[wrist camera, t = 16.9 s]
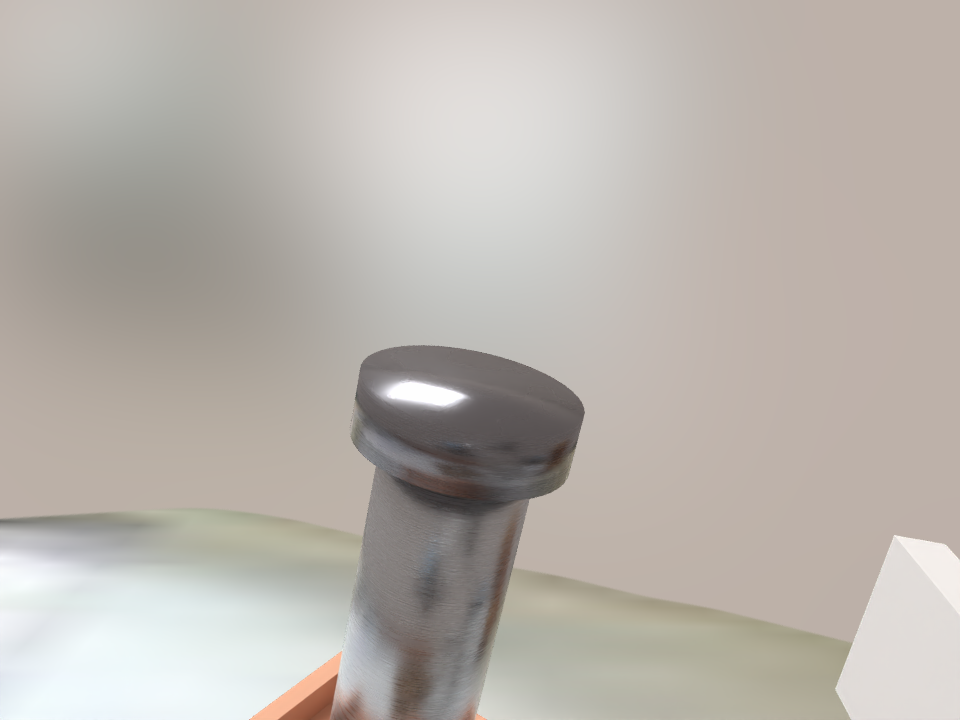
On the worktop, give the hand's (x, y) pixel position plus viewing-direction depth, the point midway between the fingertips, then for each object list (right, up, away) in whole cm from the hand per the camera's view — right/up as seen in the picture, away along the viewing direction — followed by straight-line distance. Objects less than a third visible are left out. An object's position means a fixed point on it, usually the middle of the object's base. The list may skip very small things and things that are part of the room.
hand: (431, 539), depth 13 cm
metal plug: (-3, -15, +20) cm, 25 cm away
